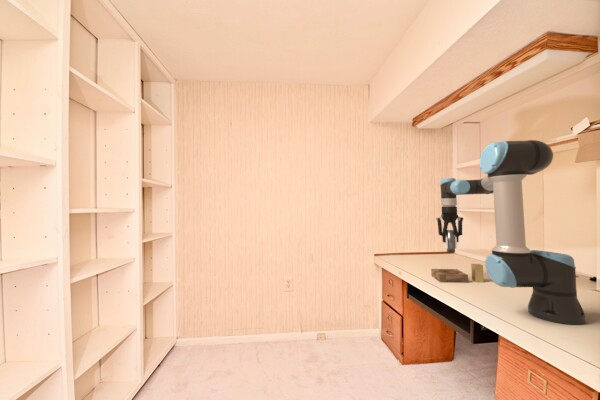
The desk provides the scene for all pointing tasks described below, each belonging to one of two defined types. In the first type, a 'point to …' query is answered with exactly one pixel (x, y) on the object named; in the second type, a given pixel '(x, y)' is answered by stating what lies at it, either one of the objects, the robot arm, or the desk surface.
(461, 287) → the desk surface
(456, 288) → the desk surface
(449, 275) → the socket block
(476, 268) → the square bit
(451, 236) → the round bit
